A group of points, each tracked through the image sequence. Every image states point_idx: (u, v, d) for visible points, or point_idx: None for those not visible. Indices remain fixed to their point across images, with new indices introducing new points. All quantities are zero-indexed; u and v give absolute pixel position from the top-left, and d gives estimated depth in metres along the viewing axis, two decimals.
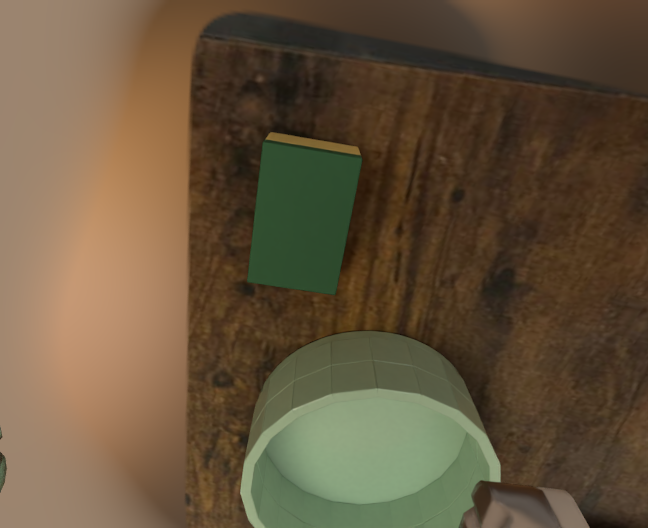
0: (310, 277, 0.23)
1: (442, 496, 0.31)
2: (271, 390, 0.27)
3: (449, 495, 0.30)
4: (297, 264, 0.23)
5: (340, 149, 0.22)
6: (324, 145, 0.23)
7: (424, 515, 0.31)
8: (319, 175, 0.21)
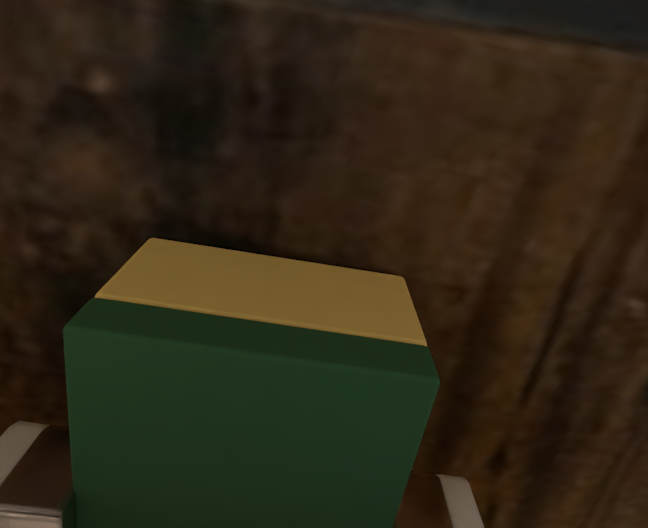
0: None
1: None
2: None
3: None
4: None
5: (356, 314, 0.07)
6: (305, 294, 0.07)
7: None
8: (283, 430, 0.06)
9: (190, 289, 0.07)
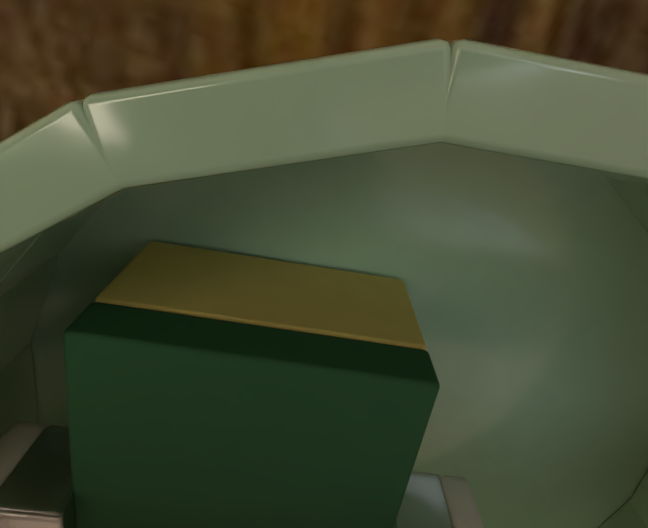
0: None
1: None
2: None
3: None
4: None
5: (356, 318, 0.07)
6: (304, 298, 0.07)
7: None
8: (283, 434, 0.06)
9: (190, 293, 0.07)
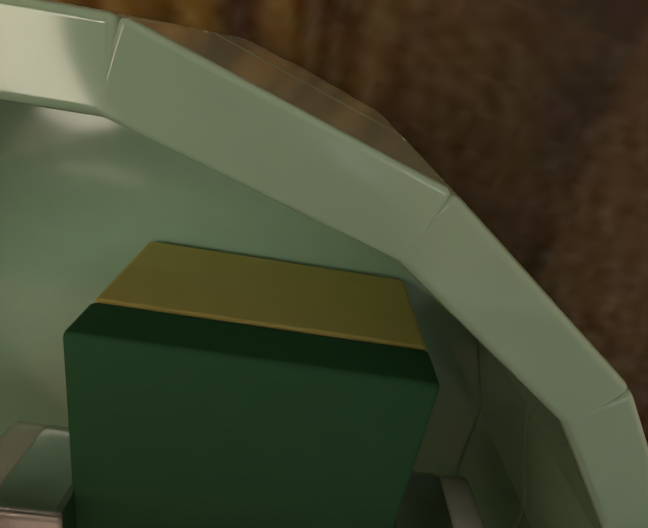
0: None
1: None
2: None
3: None
4: None
5: (356, 318, 0.07)
6: (304, 299, 0.07)
7: None
8: (283, 435, 0.06)
9: (190, 294, 0.07)
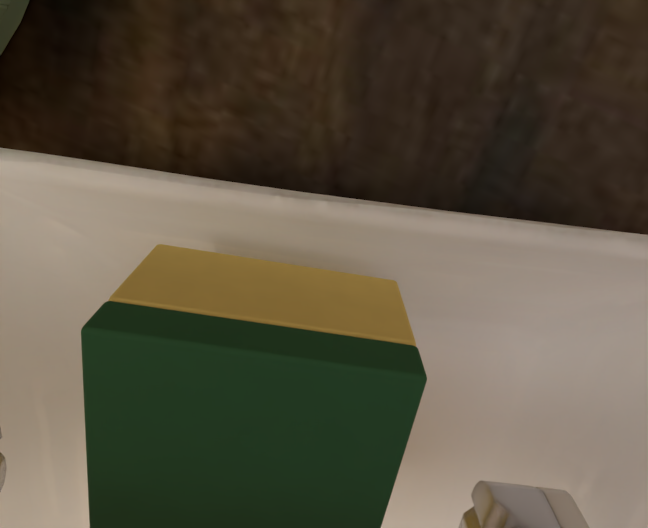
0: None
1: None
2: None
3: None
4: None
5: (351, 316, 0.07)
6: (303, 297, 0.08)
7: None
8: (282, 423, 0.06)
9: (196, 293, 0.07)
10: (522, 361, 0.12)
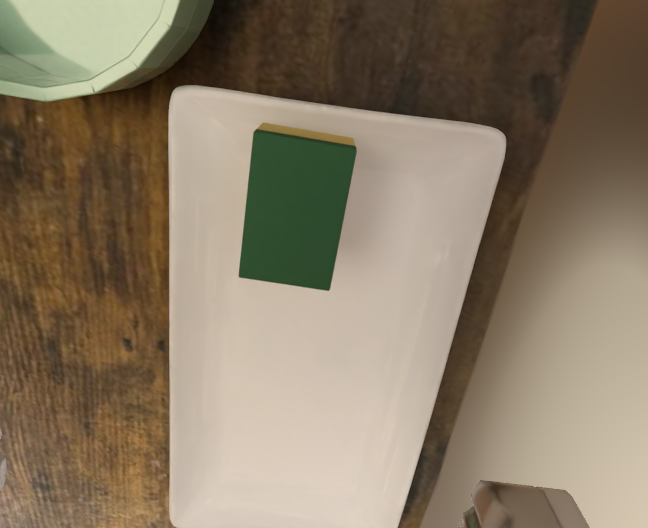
0: (303, 272, 0.23)
1: None
2: None
3: None
4: (290, 259, 0.22)
5: (334, 140, 0.21)
6: (318, 136, 0.22)
7: None
8: (312, 166, 0.21)
9: (282, 131, 0.21)
10: (416, 192, 0.26)
